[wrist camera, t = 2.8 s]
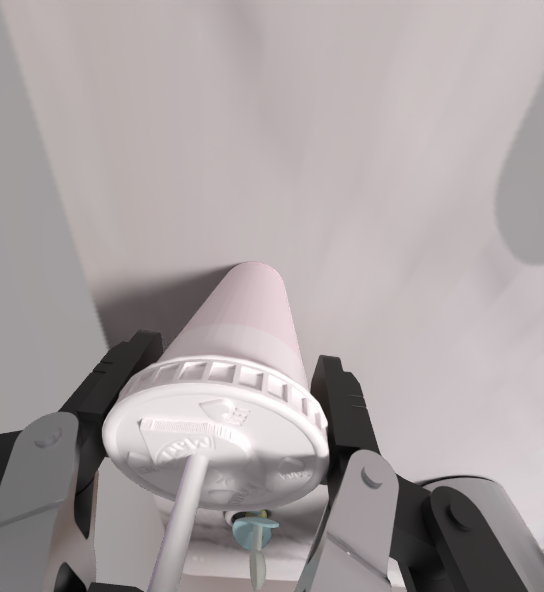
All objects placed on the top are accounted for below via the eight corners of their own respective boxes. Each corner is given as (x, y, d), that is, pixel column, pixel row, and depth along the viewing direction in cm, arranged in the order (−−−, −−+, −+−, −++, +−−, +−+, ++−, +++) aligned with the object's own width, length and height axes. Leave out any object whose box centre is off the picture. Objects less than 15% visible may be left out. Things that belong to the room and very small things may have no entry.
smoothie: (252, 212, 13) (-68, 896, 1) (331, 293, 15) (479, 831, 4) (178, 287, 16) (-168, 762, 4) (255, 348, 18) (189, 772, 6)
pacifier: (221, 519, 33) (268, 528, 34) (207, 591, 28) (262, 602, 28) (232, 493, 30) (283, 504, 30) (217, 571, 24) (280, 584, 25)
